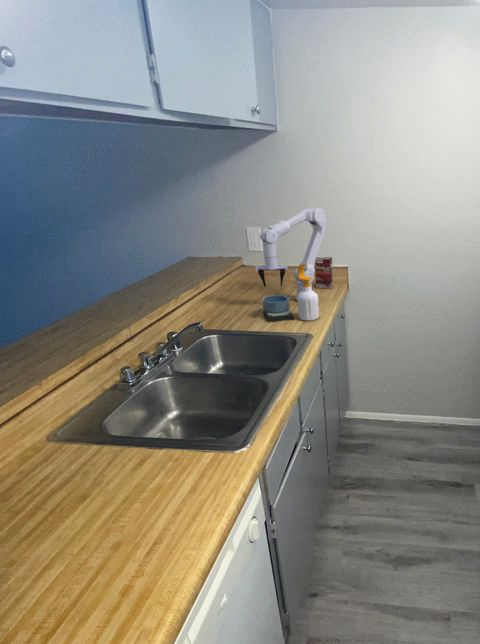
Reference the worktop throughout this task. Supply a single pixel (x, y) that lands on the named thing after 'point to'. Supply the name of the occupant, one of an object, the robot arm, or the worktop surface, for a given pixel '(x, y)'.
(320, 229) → the robot arm
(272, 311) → the bowl
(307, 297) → the spray bottle
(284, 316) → the scale
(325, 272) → the supplement box
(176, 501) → the worktop surface
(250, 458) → the worktop surface
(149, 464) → the worktop surface
